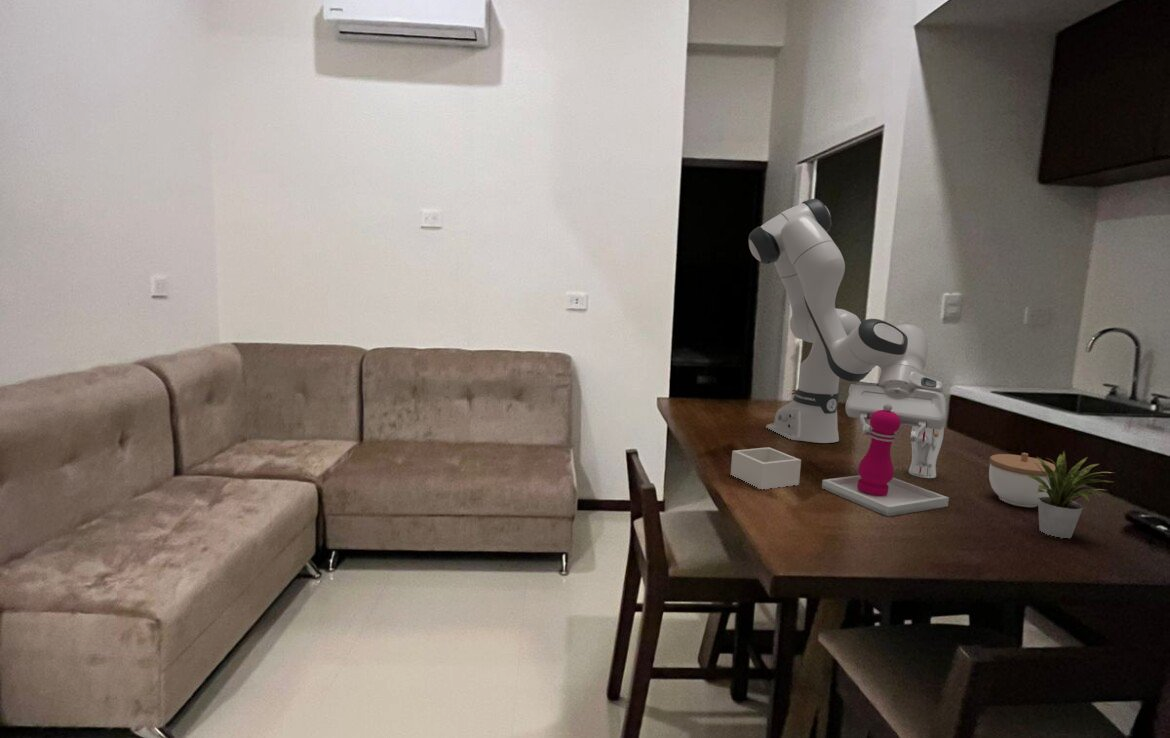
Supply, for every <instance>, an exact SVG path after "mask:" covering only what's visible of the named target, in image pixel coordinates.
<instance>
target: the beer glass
mask: <svg viewBox="0 0 1170 738" xmlns="http://www.w3.org/2000/svg"><path fill="white" fill-rule="evenodd" d="M917 429H918V427H917V426H911V431H916V430H917ZM944 432H945V427H943V428H942V429H940V430H938V429H931V428H926V430H925V432H924V433H923V434H921V435H920V436H919V437H918V442H911V441H910V443H911V456H912V457H911V463H910V466H909V469H908V474H910V475H911V476H914V477H917V478H921V479H935V478H936V477H937V469H936V465H937V459H938V456H939V453H940V449H941V446H942V444H943V440H944V434H945V433H944Z"/></svg>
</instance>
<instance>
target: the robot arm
mask: <svg viewBox="0 0 1170 738" xmlns="http://www.w3.org/2000/svg"><path fill="white" fill-rule="evenodd" d="M831 217H832V216H831V212H830V210H829V209H828V207H827V206H826V205H825V204H824V203H823V202H822V201H821V200H820V199H817V198H810V199H807V200H803V201H802V202H801V203H800V204H797V205H794V206H793V207H790V208H788V209H786V210H784V211H781V212H780V213H779V214H777V215H776V216H773V217H772V218H770V219H769V220H768V221H766V222H764V223H763V224H762V225H761V226H757V227H756V228H754V229H753V230H752V231H751V232H750V233H749V234H748V247H749V250H750V252H751V255H752V256H753V257H754V258H755V259H756V260H757V261H758V262H759V263H761V264H763V265H769V264H773V263H774V266H775V268H776V272H777V275H778V276H779V278H780V280H781V283H782V285H783V287H784V290H785V293H786V294H787V296H788V299H789V302H790V303H789V304H790V307H791V314H792V315H791V317H790V320H789V329H790V330H791V333H792V334H793V335H794V336H795V337H797V338H798V339H801V340H802V341H803V342H807V343H810V344H811V343H812V345H811V349H810V351H809V354H808V356H807V357H806V358H805V359H804V360H802V362H801V364H800V370H799V379H798V388H797V389H793V390H791V393H790V394H791V395H794V396H793V398H792V399H793V400H791V401H790V402H788V403H786V404H785V405H784V406H782V407H780V408H779V409H777V410H776V413H775V417H774V422H773V423H772V422H771V423H769V424H768V423H767V424H765V425H766V426H765V428H766V429H767V428H768V429H767V430H769V429H770V430H769V431H771V430H772V431H771V432H773V431H774V433H775V432H776V433H775V434H777V433H778V434H777V435H779V434H780V435H779V436H781V435H782V436H781V437H783V436H784V438H785V437H786V439H787V438H788V440H790V439H791V441H801V442H806V443H818V444H830V443H831V444H832V443H836V442H840V437H839V429H838V410H837V409H838V406H839V400H840V393H839V383H840V379H842V380H844V381H847V382H852V383H851V384H850V385H849V388H848V393H847V394H848V397H847V400H846V402H845V409H844V410H845V413H846V415H847V416H848V417H849V418H855V419H859V421H860V424H861V426H862V431H861V432H862V435H868V436H870V434H871V432H870V431H871V430H872V426H871V425H870V424H868V423H867V422H868V420H869V421H870V418H871V416H872V414H873V413H874V412H876V411H878V410H884V409H883V406H884V405H885V404H887V403H888V404H891V405H892V410H891V411H892V412H894V413H896V414H897V415H898V417H899V419H900V425H905V426H911V427H912V426H917V427H918V429H917V430H916V431H912V430H911V431H910V436H909V442H910V443H911V442H918V437H919V436H920V435H921V434H923V433H924V432H925V430H926V428H931V429H938V430H940V429H942V428H943V427H944V428H945V427H946V420H947V400H946V397H945V395H944V385H943V382H941V381H939V380H937V379H933V378H932V377H931V378H930V377H928V376H925V375H924V373H923V371H924V369H925V367H926V364H927V359H928V350H929V349H928V348H929V347H928V345H929V344H928V340H927V339H928V338H927V336H926V334H925V332H924V331H923V329H921V328H920V327H918V326H916V325H913V324H909V323H908V324H907V323H905V324H904V323H903V324H898V325H895V324H892V323H889V322H887V321H884V320H882V319H877V318H867V319H865V320H862V321H861V319H860V318H859V317H858V316H857V315H856V314H855V313H852V312H850V311H848V310H846V309H843V308H836V298H837V294H838V290H839V287H840V286H841V283H842V280H843V278H844V275H845V270H846V263H845V260H844V257H843V255H842V252H841V250H840V248H839V247H838V246H837V244H836V243H835V242H834V240H833V239H832V237H831V235H829V234H828V232H829V231H830V230H831V228H832V227H831V226H832V224H833V222H832V218H831ZM876 367H879V368H880V375H879V379H878V382H877V383H876V382H865V381H862V380H864V379H865V378H866V377H867V375H869V373H871V372H872V370H873V369H874V368H876ZM853 382H854V383H853Z"/></svg>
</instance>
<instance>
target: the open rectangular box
mask: <svg viewBox="0 0 1170 738" xmlns="http://www.w3.org/2000/svg"><path fill="white" fill-rule="evenodd" d="M801 467H802V459H800V458H798V457H795V456H793V455H789V454H787V453H785V452H783V451H780V450H778V449H775V448H772V447H770V446H768V447H759V448H757V447H756V448H749V449H748V448H747V449H738V450H732V453H731V465H730V476H731V475H732V476H731V477H733V476H734V478H735V477H736V478H735V479H737V478H739V479H741V480H743V481H745V482H744V483H746V482H747V483H746V484H748V483H749V484H748V485H750V484H751V485H750V486H752V485H753V486H752V487H754V486H755V487H754V488H756V487H757V488H756V489H758V490H760V489H762V490H761V491H763V489H765V490H770V488H772V489H778V487H780V488H785V487H786V486H788V487H794V486H793V485H795V486H799V485H800V479H801V477H800V475H801V469H802V468H801ZM739 479H738V480H739ZM741 480H740V481H741ZM743 481H742V482H743ZM786 488H787V487H786Z"/></svg>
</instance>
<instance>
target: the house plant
mask: <svg viewBox="0 0 1170 738" xmlns="http://www.w3.org/2000/svg"><path fill="white" fill-rule="evenodd" d="M1036 459H1039V461H1040V462H1041V463H1040V464H1042V466H1043V468H1044V469H1045V471H1046V473H1047V475H1048V478H1049V480H1048V478H1047V476H1046V475H1045V473H1044V472H1043V471H1042V470H1041V471H1042V472H1043V474H1044V475H1045V476H1046V478H1047V480H1048V482H1049V481H1050V482H1049V485H1050V484H1051V485H1050V487H1051V489H1050V488H1049V487H1048V485H1047V484H1046V483H1045V482H1044V481H1043V480H1042V479H1041V478H1039V477H1037V476H1035V475H1027V476H1028V477H1031V478H1033V479H1035V480H1037V481H1038V482H1040V483H1041V484H1042V485H1043V486H1042V485H1039V488H1038V492H1047V493H1048V495H1049V497H1048V496H1043V497H1039V498H1038V506H1037V509H1038V524H1039V525H1038V526H1039V532H1040V531H1041V532H1040V533H1042V532H1043V533H1045V534H1044V535H1046V534H1047V535H1046V536H1049V535H1051V536H1050V537H1052V536H1055V537H1054V538H1056V537H1060V538H1059V539H1063V538H1068V539H1071V538H1072V537H1073V535H1074V531H1075V530H1076V526H1077V523H1078V521H1079V519H1080V516H1081V513H1082V511H1083V508H1084V507H1083V505H1082V504H1080V503H1077V502H1075V500H1077V499H1079V498H1081V497H1084V498H1085V499H1086V501H1087V503H1088V504H1089V499H1090V497H1089V495H1098V496H1101V497H1102V498H1104V497H1103V494H1102V492H1101V491H1105V489H1104V488H1096V489H1095V488H1093V487H1089V486H1084V487H1083V486H1082V487H1079V486H1081V485H1084V484H1085V485H1086V484H1090V483H1091V484H1092V483H1113V481H1111V480H1105V479H1094V477H1095V478H1096V477H1104V475H1103V474H1115V472H1110V471H1099V472H1098V471H1097V472H1093V473H1092V472H1091V473H1090V471H1091V470H1092V468H1095V467H1096V466H1098V465H1099V463H1093V464H1090V465H1087V466H1086V467H1083V468H1081V467H1082V465H1083V464H1084V463H1085V462H1086V461H1087V459H1088V456H1087V457H1084V458H1083V459H1080V461H1079V462H1077V463H1075V465H1074V466H1072V467H1071V469H1070V470H1069V471H1068V472H1067V464H1068V463H1067V461H1066V452H1065V450H1063V452H1062V454H1059V455H1058V457H1057V459H1056V462H1055V461H1054V460H1053V459H1050V458H1048V457H1046V459H1047V460H1050V461H1051V462H1052V464H1054V465H1055V472H1054V473H1053V471H1052V469H1051V468H1050V467H1049V466H1048V465H1046V464H1045V462H1044V461H1045V460H1044V461H1043V459H1042V458H1041V457H1038V456H1036ZM1034 463H1035V462H1034ZM1035 464H1036V463H1035ZM1036 465H1037V464H1036ZM1037 466H1038V465H1037ZM1038 467H1039V466H1038ZM1039 468H1040V467H1039ZM1080 468H1081V470H1079V469H1080ZM1040 469H1041V468H1040ZM1102 473H1103V474H1102ZM1086 477H1087V478H1086ZM1105 477H1107V475H1105ZM1084 478H1085V479H1084ZM1039 489H1046V490H1047V491H1044V490H1039ZM1084 490H1085V491H1084ZM1107 491H1109V490H1107ZM1038 492H1037V493H1038ZM1043 533H1042V534H1043Z"/></svg>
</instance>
